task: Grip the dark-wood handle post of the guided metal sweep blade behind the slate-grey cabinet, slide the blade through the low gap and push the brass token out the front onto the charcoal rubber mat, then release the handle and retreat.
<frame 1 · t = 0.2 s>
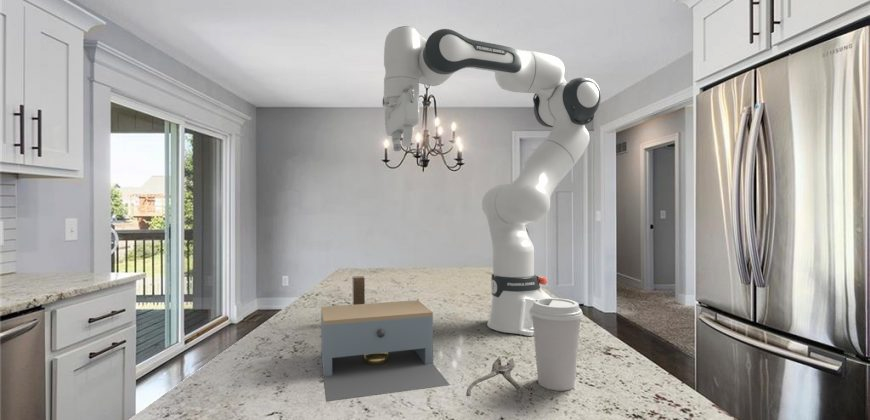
hand: (401, 148, 107), 47 cm above the countertop, fingers open, 8 cm apart
token: (376, 361, 90), resting on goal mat
sweep tool: (363, 307, 110), point 7 cm above the countertop, slide at 0.0 cm
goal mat: (379, 367, 87), on the countertop
cabinet: (375, 359, 91), on the countertop
coffee cup: (556, 384, 79), on the countertop
pliers: (492, 380, 82), on the countertop
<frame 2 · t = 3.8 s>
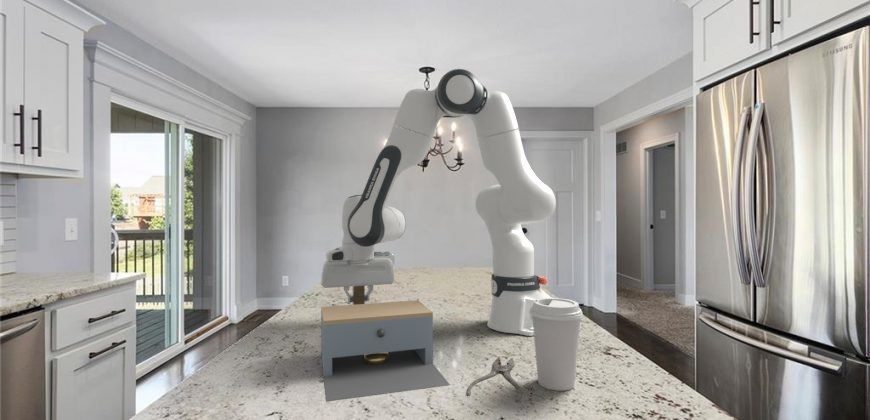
hand: (358, 301, 120), 6 cm above the countertop, fingers closed on sweep tool, 3 cm apart
sweep tool: (363, 307, 110), point 7 cm above the countertop, slide at 0.0 cm, touching gripper
everything else where it was.
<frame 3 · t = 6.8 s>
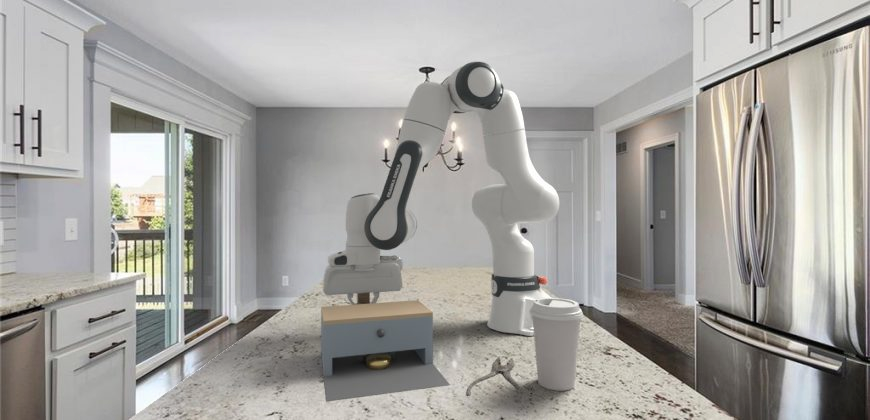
hand: (363, 309, 110), 6 cm above the countertop, fingers closed on sweep tool, 3 cm apart
token: (378, 365, 88), resting on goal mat, touching sweep tool
sweep tool: (368, 317, 101), point 7 cm above the countertop, slide at 10.0 cm, touching gripper, token
everything else where it was.
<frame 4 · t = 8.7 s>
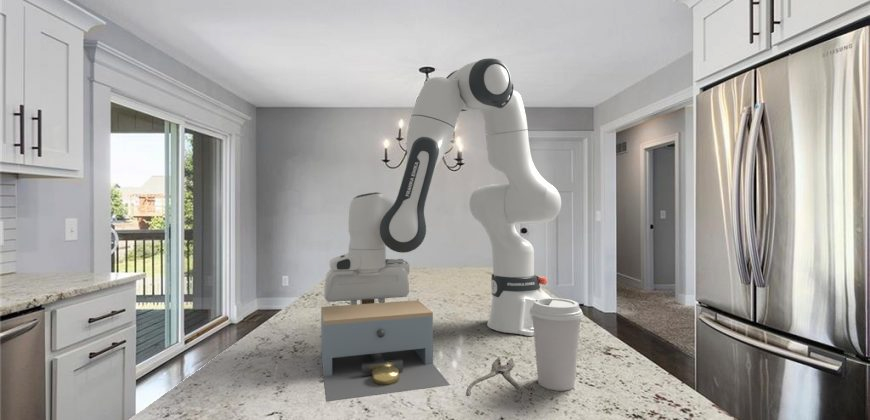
hand: (367, 317, 103), 6 cm above the countertop, fingers closed on sweep tool, 3 cm apart
token: (385, 379, 80), resting on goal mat, touching sweep tool
sweep tool: (373, 325, 93), point 7 cm above the countertop, slide at 17.6 cm, touching gripper, token
everything else where it was.
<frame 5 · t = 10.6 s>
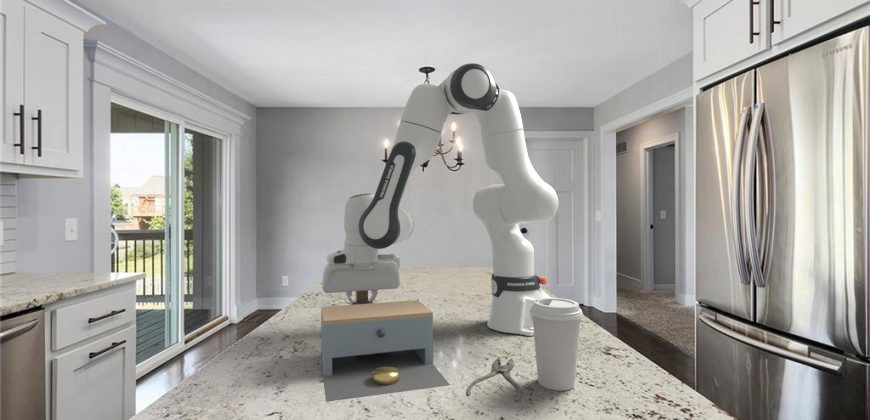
hand: (361, 307, 113), 6 cm above the countertop, fingers closed on sweep tool, 3 cm apart
token: (385, 380, 80), resting on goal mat
sweep tool: (366, 313, 104), point 7 cm above the countertop, slide at 6.9 cm, touching gripper
everything else where it was.
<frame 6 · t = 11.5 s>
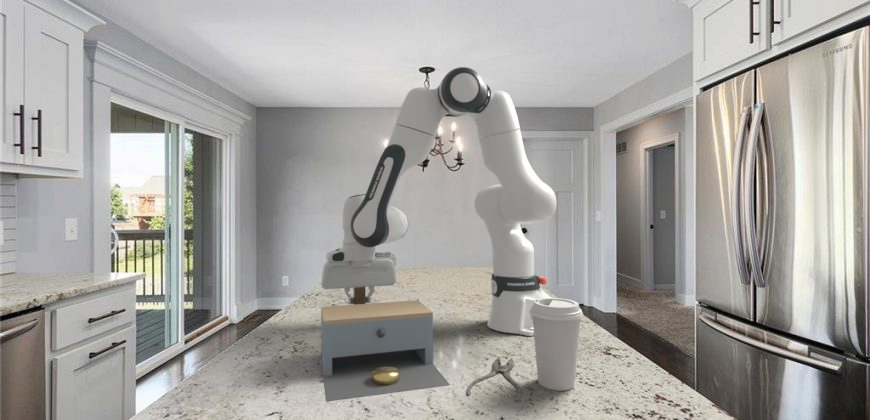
hand: (359, 303, 118), 6 cm above the countertop, fingers closed on sweep tool, 3 cm apart
sweep tool: (364, 309, 109), point 7 cm above the countertop, slide at 1.8 cm, touching gripper
everything else where it was.
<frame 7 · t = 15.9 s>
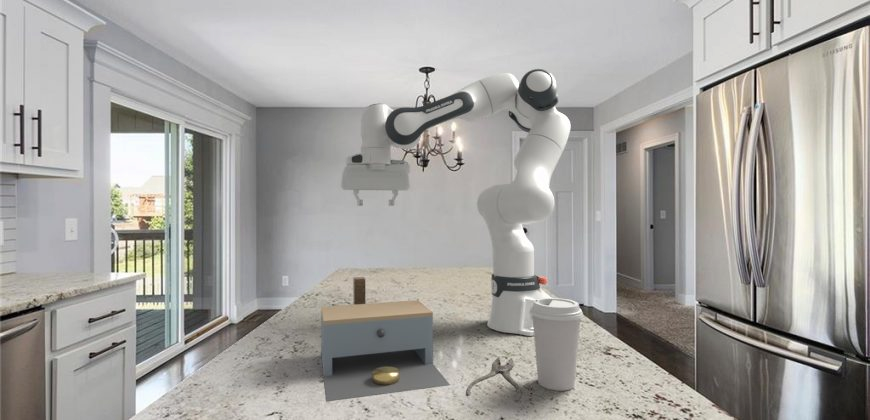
hand: (375, 205, 127), 33 cm above the countertop, fingers open, 8 cm apart
sweep tool: (364, 309, 109), point 7 cm above the countertop, slide at 1.8 cm
everything else where it was.
at the end: token inside the target area (1.9 cm from its centre), resting on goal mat; the gripper is holding nothing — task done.
